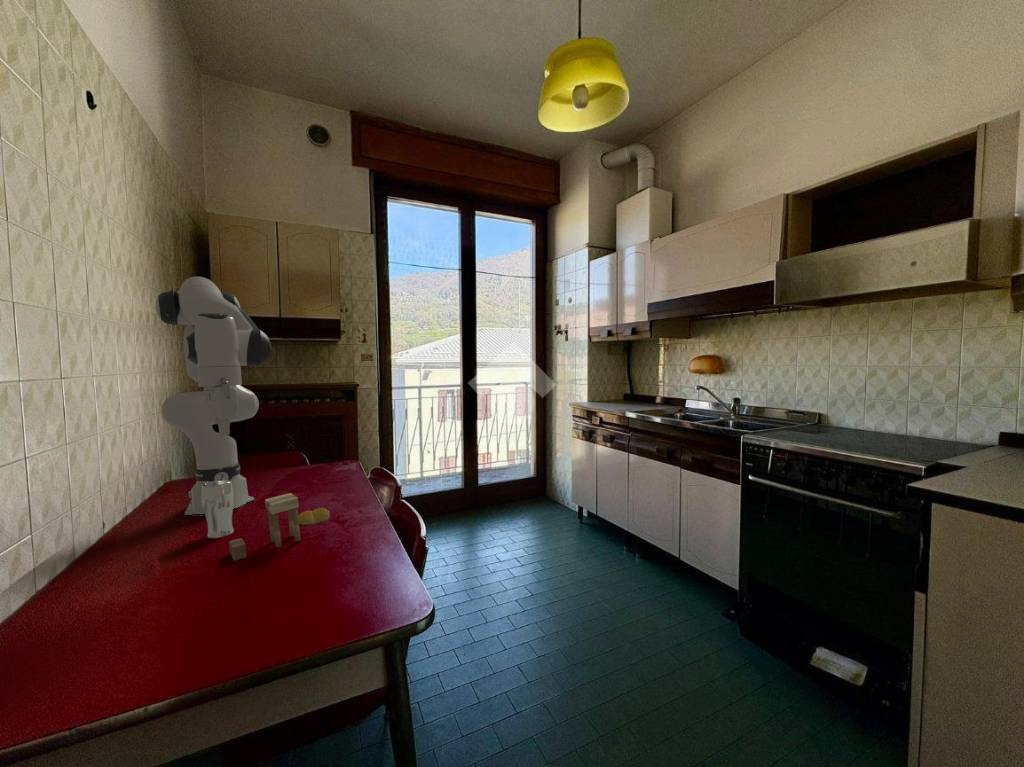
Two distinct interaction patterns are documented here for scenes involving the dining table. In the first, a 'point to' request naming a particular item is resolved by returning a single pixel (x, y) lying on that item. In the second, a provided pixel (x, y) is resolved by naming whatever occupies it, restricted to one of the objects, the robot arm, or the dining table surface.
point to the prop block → (237, 549)
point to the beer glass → (218, 507)
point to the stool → (281, 505)
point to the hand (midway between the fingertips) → (224, 434)
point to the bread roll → (313, 516)
